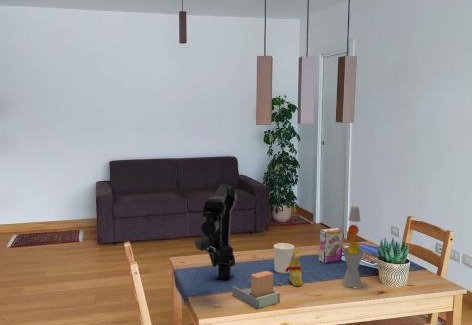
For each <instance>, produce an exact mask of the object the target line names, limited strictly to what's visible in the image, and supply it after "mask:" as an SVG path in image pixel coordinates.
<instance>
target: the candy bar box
mask: <svg viewBox="0 0 472 325" xmlns="http://www.w3.org/2000/svg"><path fill="white" fill-rule="evenodd" d="M343 242H344V229H341V228H339V227H335V228H324V229H320V230H319V249H318V251H319V252H318V261H319V262H320V261H321V263H322V264H329V263H328V262H331V263H335V262H334V261H338V262H340V261H339V260H341V258H342V259H343V244H344V243H343Z"/></svg>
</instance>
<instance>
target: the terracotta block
mask: <svg viewBox="0 0 472 325" xmlns="http://www.w3.org/2000/svg"><path fill="white" fill-rule="evenodd" d="M250 288H251V295H252V296H254V297H255V298H258V297H262V296H265V295H269V294H272V293H273V291H274V273H273V272H271V271H268V270H263V271H260V272H256V273H252V274H250Z"/></svg>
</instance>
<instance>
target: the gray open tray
mask: <svg viewBox="0 0 472 325" xmlns="http://www.w3.org/2000/svg"><path fill="white" fill-rule="evenodd" d="M280 295H281V292H279V291H275V290H273V293H272V294H269V295H265V296H262V297H258V298H255V297H254V296H252V295H251V287H248V288H247V287H246V288H243V289H241V288H239V287H237V286H234V285H233V286H232V296H234V297H236V298H237V299H239V300H241V301H242V302H243V301H244V302H245V303H247V304H248V305H250V306H252V307H253V308H255V309H261V308H265V307H267V306H271V305H275V304H278V303H280V298H281V296H280Z"/></svg>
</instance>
